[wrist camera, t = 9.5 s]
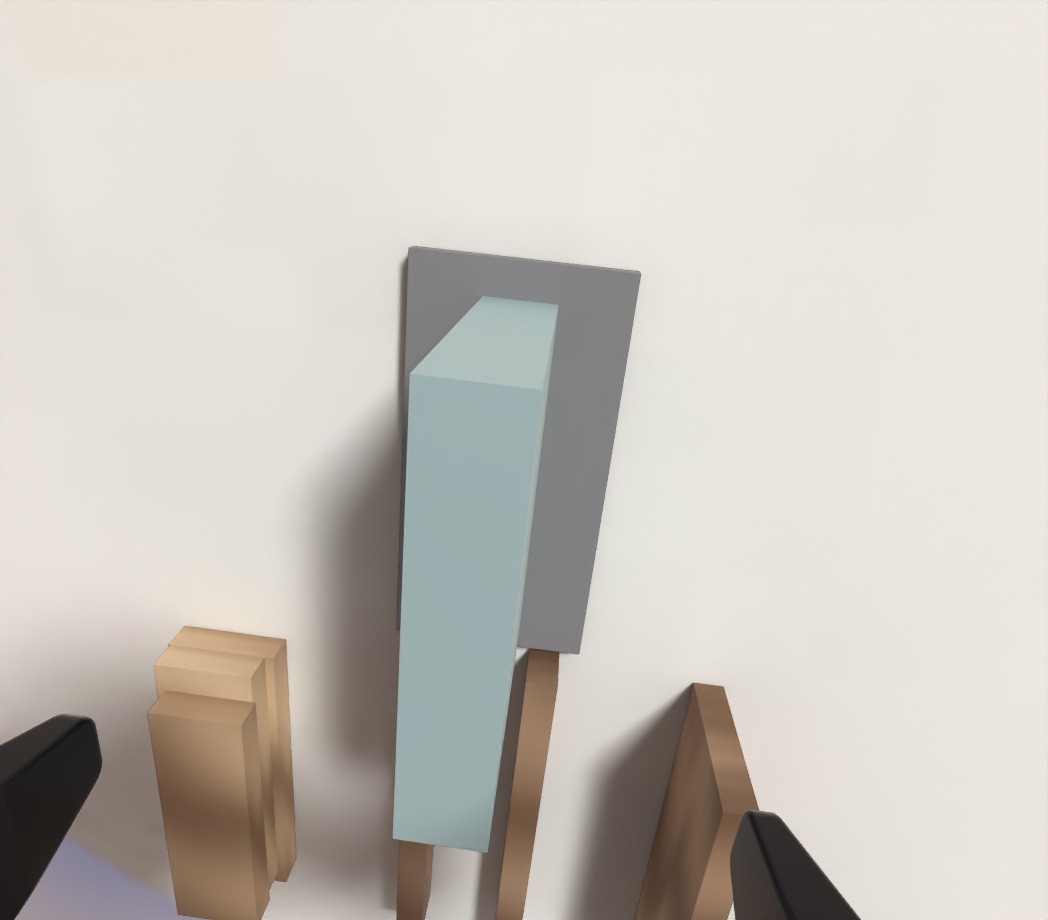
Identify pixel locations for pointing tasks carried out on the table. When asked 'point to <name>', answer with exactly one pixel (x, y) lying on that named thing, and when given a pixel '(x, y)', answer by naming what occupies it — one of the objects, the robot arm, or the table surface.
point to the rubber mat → (571, 413)
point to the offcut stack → (224, 770)
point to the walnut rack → (684, 827)
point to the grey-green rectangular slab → (466, 563)
